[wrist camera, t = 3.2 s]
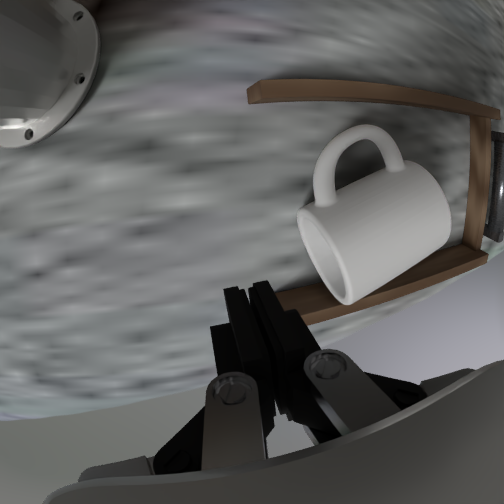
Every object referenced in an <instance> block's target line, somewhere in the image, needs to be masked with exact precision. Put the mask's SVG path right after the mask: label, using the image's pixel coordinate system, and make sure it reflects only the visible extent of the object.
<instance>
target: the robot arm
mask: <svg viewBox="0 0 504 504" xmlns="http://www.w3.org/2000/svg"><path fill="white" fill-rule="evenodd" d="M80 18H81V19H80ZM79 19H80V20H79ZM100 48H101V41H100V34H99V29H98V26H97V24H96V22H95V19H94V18H93V17H92V15H91V14H90V12H89V11H88V10H87V9H86V8H85V7H84V6H82V5H81V4H80V3H78V2H76V1H73V0H0V147H2V148H21V147H27V146H30V145H33V144H36V143H39V142H40V141H42V140H44V139H46V138H47V137H49V136H51V135H52V134H53V133H54V132H56V131H57V130H58V129H59V128H61V127H62V126H63V125H64V124H65V123H66V122H67V121H68V120H69V118H70V117H71V116H72V115H73V114H74V113H75V111H76V110H77V109H78V107H79V106H80V104H81V103H82V102H83V100H84V98H85V96H86V94H87V93H88V91H89V89H90V87H91V85H92V82H93V80H94V77H95V74H96V72H97V68H98V63H99V59H100ZM82 78H85V80H84V82H83V83H81V79H82ZM32 133H33V136H32ZM223 290H224V296H225V301H226V306H227V312H228V317H229V322H230V323H226V324H221V325H215V326H210V330H211V337H212V343H213V350H214V356H215V362H216V368H217V374H218V376H217V377H216V378H214V379H213V380H212V381H211V382H210V384H209V385H208V387H207V390H206V402H205V406H204V407H203V408H202V409H201V410H200V411H199V412H198V414H196V415H195V416H194V417H193V418H192V419H191V420H190V421H189V422H188V423H187V424H186V425H185V426H184V427H183V428H182V429H181V430H180V431H179V432H178V433H177V434H176V435H175V436H174V437H173V438H172V439H171V440H170V441H168V442H167V443H166V445H164V446H163V447H162V448H161V449H160V450H159V451H158V452H157V454H156V455H155V456H153V457H150V458H147V457H146V456H141V457H138V458H134V459H129V460H125V461H120V462H116V463H110V464H105V465H101V466H94V467H91V468H88V469H86V470H85V471H83V472H82V473H81V475H80V477H79V479H78V482H77V483H73V484H70V485H67V486H64V487H62V488H60V489H57V490H56V491H54V492H52V493H51V494H50V495H48V496H47V498H46V499H45V500H44V501H43V504H504V360H501V361H496V362H494V363H491V364H488V365H486V366H483V367H481V368H479V369H477V370H474V369H469V368H467V369H461V370H458V371H455V372H452V373H449V374H446V375H442V376H439V377H435V378H432V379H428V380H424V381H421V383H420V385H417V384H414V383H411V382H407V381H402V380H398V379H393V378H388V377H384V376H380V375H375V374H371V373H367V372H363V371H362V370H361V369H360V368H359V367H358V366H357V365H356V364H355V363H354V362H353V360H351V358H350V357H349V356H347V355H346V354H345V353H343V352H341V351H338V350H333V349H323V350H321V348H320V347H319V345H318V343H317V342H316V340H315V338H314V337H313V335H312V334H311V332H310V330H309V329H308V327H307V325H306V324H305V322H304V321H303V319H302V317H301V316H300V314H299V312H298V311H297V310H296V309H291V310H286V311H284V309H283V307H282V305H281V304H280V302H279V300H278V298H277V296H276V294H275V293H274V291H273V289H272V287H271V285H270V284H269V282H268V280H266V281H261V282H256V283H253V287H250V288H248V292H249V299H250V303H249V300H248V298H247V295H246V292H245V290H244V289H240V290H239V288H238V286H236V287H231V288H226V289H223ZM274 399H275V400H274ZM275 401H276V404H277V407H278V410H279V412H280V414H281V415H282V414H286V415H287V418H288V420H289V421H291V420H293V421H294V422H297V423H299V424H302V425H303V428H304V430H305V432H306V433H307V435H308V436H309V438H310V439H311V441H312V442H313V444H314V445H315V446H313V447H309V448H306V449H303V450H299V451H296V452H292V453H288V454H285V455H281V456H277V457H273V458H268V449H267V440H266V437H267V436H268V435H269V433H270V432H271V431H272V429H273V428H274V416H276V409H275Z"/></svg>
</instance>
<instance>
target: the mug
mask: <svg viewBox="0 0 504 504" xmlns="http://www.w3.org/2000/svg"><path fill="white" fill-rule="evenodd" d="M362 139H368V140H371V141H372V142H374V143H375V144H376V145H377V147H378V148H379V150H380V152H381V154H382V157H383V159H384V162H385V165H386V167H385V168H383V169H381V170H378V171H376V172H374V173H372V174H370V175H368V176H366V177H364V178H361V179H359V180H357V181H355V182H353V183H351V184H349V185H347V186H345V187H343V188H340V189H338V190H335V168H336V164H337V161H338V159H339V157H340V155H341V154H342V152H343V151H344V150H345V149H346V148H347V147H349V146H350V145H351V144H353V143H355V142H357V141H359V140H362ZM313 190H314V196H315V201H313V202H311V203H309V204H307V205H305V206H303V207H301V208H300V209H299V210H298V212H297V223H298V227H299V231H300V234H301V237H302V240H303V242H304V245H305V247H306V250H307V252H308V254H309V256H310V258H311V260H312V262H313V264H314V266H315V268H316V270H317V272H318V273H319V275H320V277H321V278H322V280H323V282H324V283H325V285H326V286H327V288H328V289H329V290H330V292H331V293H332V294H333V295H334V297H335V298H336V299H337V300H338V301H339V302H341V303H342V304H344V305H351V304H353V303H354V302H356V301H358V300H359V299H361V298H363V297H364V296H366V295H368V294H369V293H371V292H373V291H374V290H376V289H378V288H379V287H381V286H383V285H384V284H386V283H387V282H389V281H391V280H392V279H394V278H395V277H397V276H399V275H400V274H402V273H403V272H405V271H406V270H408V269H409V268H411V267H412V266H414V265H415V264H417V263H418V262H420V261H421V260H423V259H424V258H426V257H427V256H429V255H430V254H432V253H433V252H434V251H436V250H437V249H439V248H440V247H442V246H443V245H444V244H445V243H446V242H447V240H448V238H449V236H450V232H451V213H450V208H449V205H448V202H447V199H446V196H445V194H444V192H443V190H442V188H441V187H440V185H439V184H438V182H437V181H436V180H435V178H434V177H433V176H432V175H431V174H430V173H429V172H428V171H427V170H426V169H425V168H424V167H422V166H421V165H419V164H417V163H415V162H412V161H409V160H403V158H402V156H401V153H400V151H399V149H398V147H397V145H396V143H395V141H394V140H393V139H392V137H391V136H390V135H389V134H388V133H387V132H386V131H384V130H383V129H381V128H380V127H377V126H374V125H369V124H363V125H357V126H354V127H351V128H349V129H347V130H345V131H343V132H341V133H340V134H338V135H337V136H336V137H334V138H333V139H332V140H331V141H330V142H329V143H328V144H327V145H326V147H325V148H324V149H323V151H322V152H321V154H320V156H319V158H318V160H317V162H316V165H315V169H314V175H313Z"/></svg>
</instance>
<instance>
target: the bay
mask: <svg viewBox="0 0 504 504" xmlns="http://www.w3.org/2000/svg"><path fill="white" fill-rule="evenodd" d="M247 96H248V104H259V103H273V102H294V101H350V102H371V103H385V104H396V105H406V106H415V107H422V108H430V109H436V110H443V111H449V112H454V113H460V114H465V115H470V176H469V191H468V202H467V211H466V219H465V227H464V234H463V240H462V244H459V245H456V246H453V247H449V248H446V249H443V250H439V251H436V252H433V253H432V254H430V255H429V256H427V257H426V258H424V259H423V260H421V261H420V262H418V263H417V264H415V265H414V266H412V267H411V268H409V269H408V270H406V271H405V272H403V273H402V274H400V275H399V276H397V277H395V278H394V279H392V280H391V281H389V282H387V283H386V284H384V285H383V286H381V287H379V288H378V289H376V290H374V291H373V292H371V293H369V294H368V295H366V296H364V297H363V298H361V299H359V300H358V301H356V302H354V303H353V304H351V305H344V304H342V303H341V302H339V301H338V300H337V299H336V298H335V297H334V295H333V294H332V293H331V292H330V290H329V289H328V288H327V286H326V285H325V283H324V282H321V283H317V284H312V285H308V286H304V287H300V288H295V289H291V290H287V291H282V292H278V293H275V294H276V296H277V298H278V300H279V302H280V304H281V305H282V307H283V309H284V311H286V310H291V309H296V310H297V311H298V312H299V314H300V316H301V317H302V319H303V321H304V322H305V324H306V325H307V326H308V325H311V324H315V323H319V322H322V321H326V320H329V319H333V318H336V317H340V316H343V315H346V314H350V313H353V312H356V311H359V310H363V309H366V308H369V307H372V306H375V305H378V304H381V303H384V302H387V301H390V300H393V299H396V298H399V297H402V296H405V295H407V294H410V293H413V292H416V291H418V290H421V289H424V288H427V287H429V286H432V285H434V284H437V283H440V282H442V281H445V280H447V279H450V278H452V277H455V276H457V275H460V274H462V273H464V272H467V271H469V270H472V269H474V268H476V267H479V266H481V265H483V264H485V263H487V259H488V255H489V254H488V253H486V252H484V251H482V250H480V248H481V243H482V238H483V235H484V236H486V237H488V238H490V239H492V240H494V241H496V242H498V243H499V242H501V241H502V240H503V235H504V232H503V230H504V133H501V132H496V131H491V119H496V120H501V118H500V110H499V109H496V108H493V107H490V106H487V105H483V104H480V103H477V102H473V101H469V100H466V99H462V98H458V97H454V96H449V95H445V94H440V93H436V92H431V91H425V90H420V89H414V88H408V87H402V86H395V85H387V84H379V83H370V82H359V81H346V80H326V79H274V80H260V81H258V82H257V83H255V84H253V85H252V86H250V87H249V88H248V89H247ZM491 141H494V169H493V184H492V195H491V204H490V212H489V219H488V224H486V223H485V219H486V212H487V204H488V194H489V183H490V167H491Z"/></svg>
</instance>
